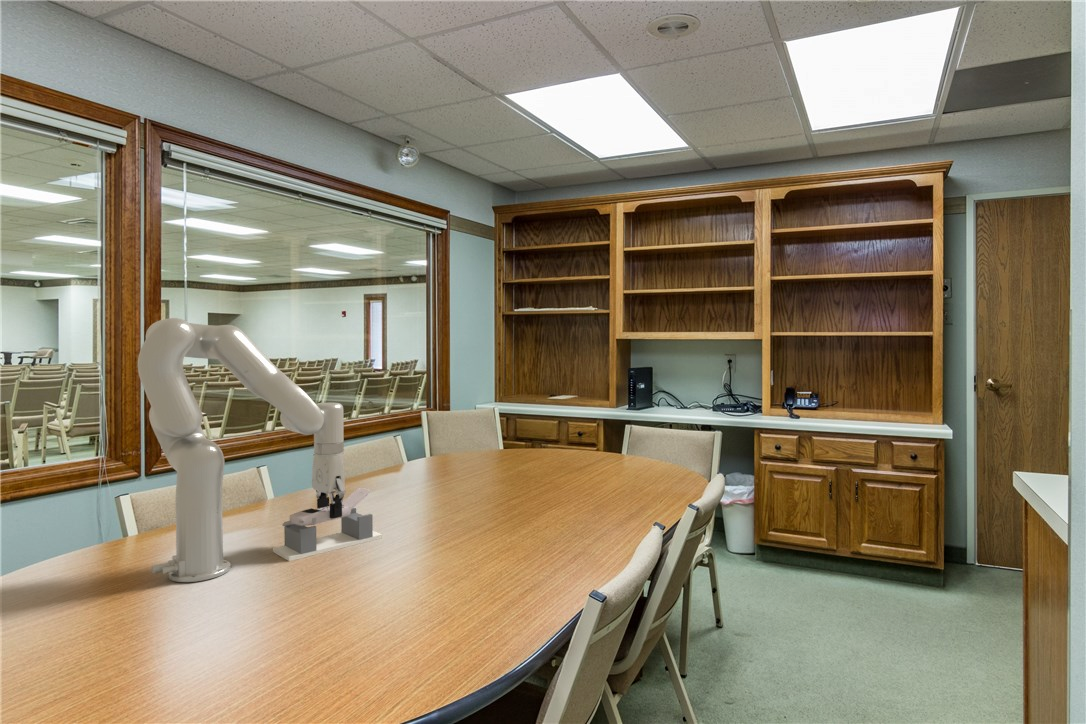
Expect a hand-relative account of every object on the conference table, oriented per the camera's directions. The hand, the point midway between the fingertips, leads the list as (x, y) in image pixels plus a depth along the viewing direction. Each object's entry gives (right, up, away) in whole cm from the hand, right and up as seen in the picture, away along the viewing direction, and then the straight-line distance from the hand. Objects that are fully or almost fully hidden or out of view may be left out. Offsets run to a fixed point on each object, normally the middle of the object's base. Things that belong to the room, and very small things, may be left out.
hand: (329, 514), depth 163 cm
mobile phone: (0, -1, 0) cm, 1 cm away
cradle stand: (0, -8, 0) cm, 8 cm away
